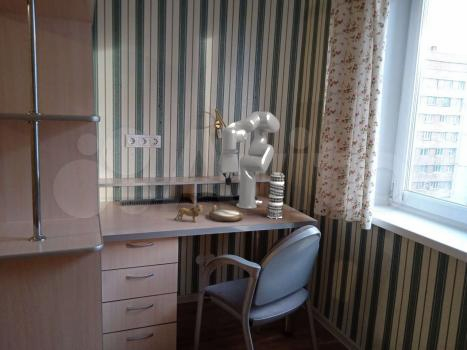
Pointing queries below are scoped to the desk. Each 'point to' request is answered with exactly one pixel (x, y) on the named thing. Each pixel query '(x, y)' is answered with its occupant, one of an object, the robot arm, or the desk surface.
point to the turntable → (225, 214)
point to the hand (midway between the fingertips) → (228, 184)
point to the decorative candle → (275, 195)
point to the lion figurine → (190, 212)
